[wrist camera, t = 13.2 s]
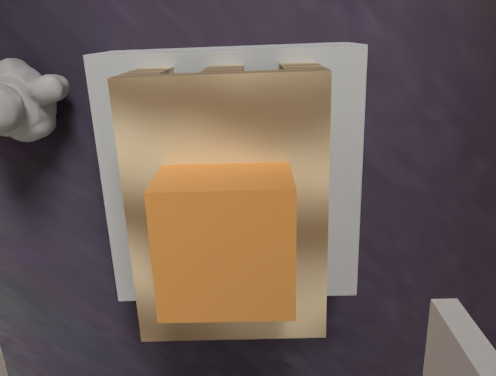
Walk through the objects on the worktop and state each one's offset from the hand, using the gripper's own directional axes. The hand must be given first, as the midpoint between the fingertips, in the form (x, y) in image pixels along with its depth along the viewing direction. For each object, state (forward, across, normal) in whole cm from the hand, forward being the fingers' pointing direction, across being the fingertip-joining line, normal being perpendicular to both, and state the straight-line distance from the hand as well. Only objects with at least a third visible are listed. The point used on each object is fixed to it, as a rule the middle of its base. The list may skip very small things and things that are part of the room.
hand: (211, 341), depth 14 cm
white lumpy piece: (+22, -14, +5) cm, 26 cm away
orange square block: (+9, 0, 0) cm, 9 cm away
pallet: (+15, 0, 0) cm, 15 cm away
